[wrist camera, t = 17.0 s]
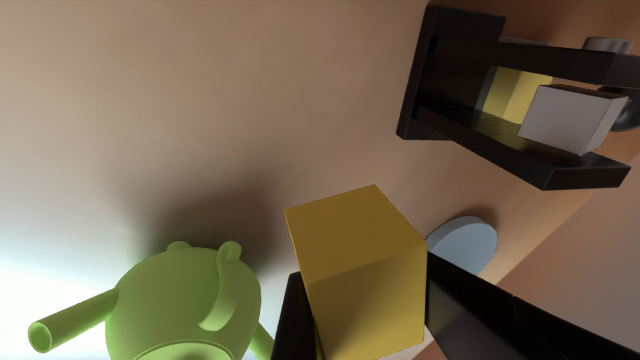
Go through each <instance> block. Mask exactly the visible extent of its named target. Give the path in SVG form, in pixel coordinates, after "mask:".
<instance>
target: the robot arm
mask: <svg viewBox="0 0 640 360" xmlns="http://www.w3.org/2000/svg"><path fill="white" fill-rule="evenodd" d="M424 324H425V325H426V327H427V328H428V330H429V331H430V333H431V334H432V336H433V338H434V339H435V341H436V342H437V344H438V345H439V347H440V348H441V350H442V351H443V353H444V355H445V356H446V358H447V359H448V360H640V353H639V352H636V351H634V350H632V349H629V348H627V347H625V346H622V345H620V344H618V343H615V342H613V341H611V340H608V339H606V338H604V337H602V336H599V335H597V334H595V333H592V332H590V331H588V330H586V329H583V328H581V327H579V326H576V325H574V324H572V323H569V322H568V321H565V320H563V319H561V318H558V317H556V316H554V315H552V314H550V313H548V312H546V311H544V310H542V309H540V308H537V307H536V306H534V305H532V304H530V303H528V302H526V301H524V300H522V299H520V298H518V297H516V296H514V297H513V295H512V294H510V293H508V292H506V291H505V290H502V289H501V288H499V287H497V286H495V285H493V284H491V283H489V282H487V281H485V280H483V279H481V278H480V277H478V276H476V275H474V274H472V273H470V272H468V271H466V270H464V269H462V268H460V267H458V266H456V265H454V264H453V263H451V262H449V261H447V260H445V259H443V258H441V257H439V256H437V255H435V254H433V253H431V252H429V251H427V272H426V298H425V323H424ZM270 360H325V358H324V355H323V351H322V347H321V344H320V340H319V336H318V332H317V329H316V325H315V321H314V317H313V314H312V310H311V307H310V303H309V300H308V296H307V293H306V289H305V286H304V282H303V279H302V275H301V272H300V271H298V272H295V273H292V274H290V275H289V278H288V283H287V287H286V292H285V296H284V301H283V305H282V309H281V314H280V318H279V323H278V327H277V332H276V336H275V340H274V345H273V349H272V354H271V358H270Z"/></svg>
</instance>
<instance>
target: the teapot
mask: <svg viewBox="0 0 640 360" xmlns="http://www.w3.org/2000/svg"><path fill="white" fill-rule="evenodd" d="M241 252H242V248H241V246H240V245H239V244H238V243H237V242H235V241H228V242H225V243H224V244H223V245H222V246H221V247H220V248H219V250H214V249H209V248H201V247H191V246H190V245H189V244H188V243H186V242H183V241H176V242H173V243H171V244H169V245H168V247H167V248H166V251H165V252H162V253H159V254H156V255H154V256H151V257H149V258H147V259H145V260H143V261H142V262H140V263H138V264H137V265H135V266H134V267H133V268H131V269H130V270H129V271H128V272H127V273H126V274H125V275H124V276H123V277H122V278H121V279H120V280H119V282H118V283H117V285H116V286H115V288H113V289H111V290H108V291H106V292H104V293H102V294H99V295H97V296H95V297H92V298H90V299H88V300H85V301H83V302H81V303H78V304H76V305H74V306H71V307H69V308H67V309H64V310H62V311H59V312H57V313H55V314H52V315H50V316H48V317H45V318H43V319H41V320H38V321H36V322H34V323H32V324H31V325H30V327H29V329H28V338H29V341H30V344H31V345H32V347H33V348H34V349H35V350H36V351H37V352H39V353H47V352H48V351H50V350H52V349H54V348H56V347H58V346H59V345H61V344H63V343H65V342H67V341H68V340H70V339H72V338H74V337H76V336H77V335H79V334H81V333H83V332H85V331H86V330H88V329H90V328H92V327H94V326H96V325H97V324H99V323H101V322H103V321H105V320H106V321H105V337H106V344H107V349H108V352H109V356H110V359H111V360H241V359H242V357H243V356H244V354H245V352H246V350H247V348H248V347H249V349H250V350H251V351H252V352H253V354H254V355H255V356H256V357H257V358H258V360H270V358H271V354H272V349H273V345H274V340H273V338H272V337H271V336H270V335H269V334H268V332H267V331H266V330H265V329H264V328H263V326H262V325H261V324H260V323H259V322H258V321H259V316H260V308H261V288H260V285H259V282H258V280H257V277H256V276H255V274H254V273H253V272H252V270H251V269H250V268H249V267H248V266H247V265H246V264H245V263H243V262H242V261H241V260H239V257H240V255H241Z"/></svg>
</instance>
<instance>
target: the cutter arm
mask: <svg viewBox="0 0 640 360" xmlns="http://www.w3.org/2000/svg"><path fill="white" fill-rule="evenodd" d="M638 127H640V89H631V88H621V87H610V86H602V87H600V88H599V89H597V90H591V89H585V88H580V87H574V86H569V85H563V84H557V85H539V86H538V88H537V90H536V92H535V95H534V97H533V99H532V102H531V104H530V106H529V108H528V111H527V113H526V115H525V118H524V120H523V122H522V124H521V127H520V129H519V131H518V134H517V136H518V137H521V138H524V139H528V140H531V141H534V142H537V143H540V144H544V145H547V146H550V147H553V148H556V149H560V150H563V151H566V152H569V153H572V154H576V155H579V156H582V155H584V154H586V153H588V152H590V151H592V150H594V149H596V148H598V147H600V146H601V144H602V142H603V141H604V139H605V137H606V135H607V134H608V132H609V131H612V132H623V131H629V130H633V129H636V128H638Z"/></svg>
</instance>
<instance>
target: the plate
mask: <svg viewBox="0 0 640 360" xmlns="http://www.w3.org/2000/svg"><path fill="white" fill-rule="evenodd" d="M425 241H426V242H427V245H428V247H427V251H429V252H431V253H433V254H435V255H437V256H439V257H441V258H443V259H445V260H447V261H449V262H451V263H453V264H454V265H456V266H458V267H460V268H462V269H464V270H466V271H468V272H470V273H472V274H474V275H477V274H478V273H479V272H480V271H481V270H482V269H483V268H484V267H485V266H486V265H487V264H488V263H489V261H490V260H491V259H492V257H493V255H494V253H495V251H496V248H497V244H498V236H497V233H496V231H495V229H494V228H493V227H491V226H490V225H489V224H488V223H486V222H485V221H484V220H483V219H481V218H479V217H475V216H463V217H459V218H456V219H453V220H451V221H448V222H447V223H445V224H443V225H442V226H440V227H439V228H437V229H436V230H435V231H434V232H433V233H432V234H431V235H430V236H429V237H428V238H427V239H426V240H425Z"/></svg>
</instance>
